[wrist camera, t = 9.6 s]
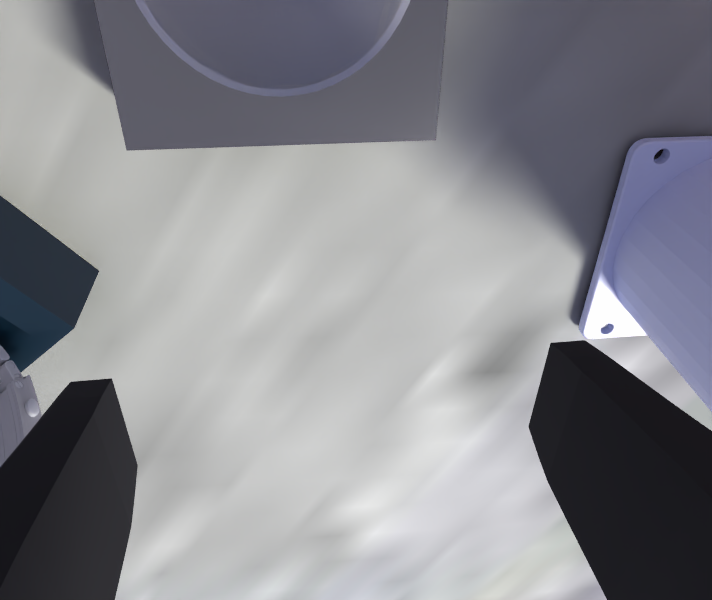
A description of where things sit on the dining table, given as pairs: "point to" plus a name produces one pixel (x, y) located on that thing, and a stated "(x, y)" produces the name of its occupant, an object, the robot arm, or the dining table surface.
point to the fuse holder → (272, 113)
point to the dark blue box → (32, 313)
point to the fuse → (275, 39)
